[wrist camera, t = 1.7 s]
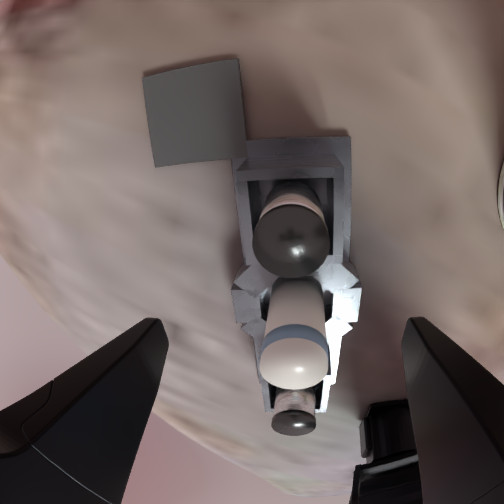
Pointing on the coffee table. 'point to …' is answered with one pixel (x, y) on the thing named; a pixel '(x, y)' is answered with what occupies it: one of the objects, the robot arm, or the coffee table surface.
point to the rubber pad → (196, 113)
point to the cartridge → (295, 335)
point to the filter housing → (338, 225)
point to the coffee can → (501, 196)
